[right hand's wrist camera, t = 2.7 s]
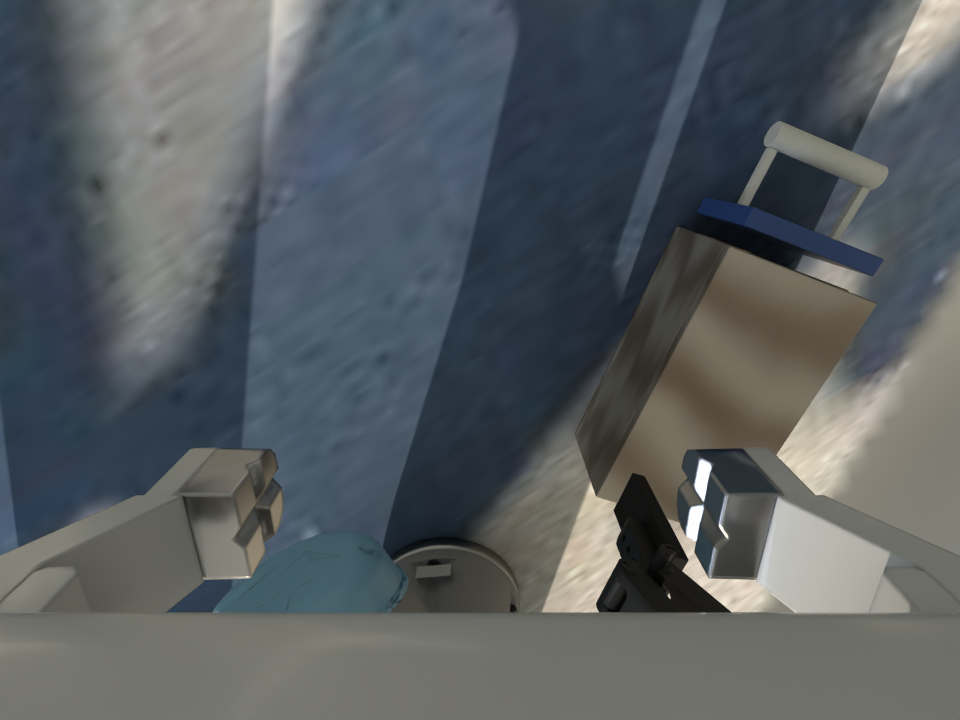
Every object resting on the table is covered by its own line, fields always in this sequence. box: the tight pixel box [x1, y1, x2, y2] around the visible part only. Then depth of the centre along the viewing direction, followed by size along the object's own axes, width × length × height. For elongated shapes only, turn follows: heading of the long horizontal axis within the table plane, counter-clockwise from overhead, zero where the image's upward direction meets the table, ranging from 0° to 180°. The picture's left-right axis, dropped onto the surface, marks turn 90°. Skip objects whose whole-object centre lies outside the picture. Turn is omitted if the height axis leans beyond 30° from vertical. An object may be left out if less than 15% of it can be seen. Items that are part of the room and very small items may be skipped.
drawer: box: [697, 121, 888, 292], centre depth 39 cm, size 24×10×8 cm, turn 160°
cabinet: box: [575, 226, 877, 523], centre depth 41 cm, size 20×11×9 cm, turn 160°
